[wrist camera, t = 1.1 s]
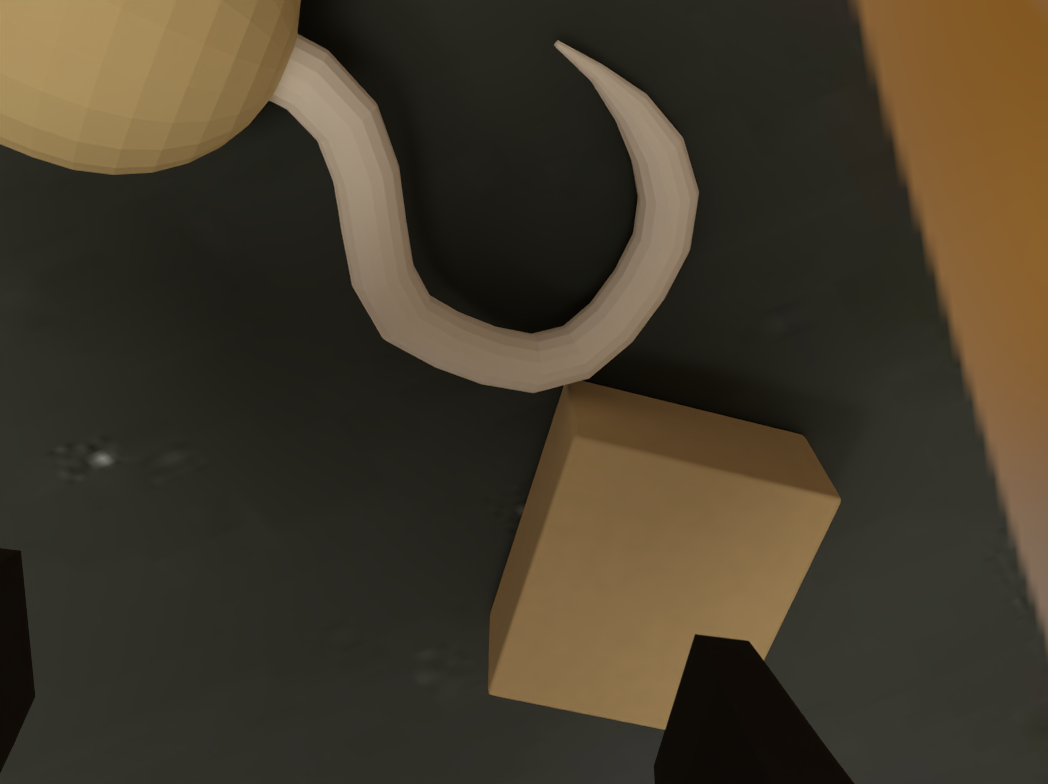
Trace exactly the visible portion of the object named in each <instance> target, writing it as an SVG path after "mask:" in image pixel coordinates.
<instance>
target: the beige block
mask: <svg viewBox="0 0 1048 784" xmlns="http://www.w3.org/2000/svg"><path fill="white" fill-rule="evenodd" d="M840 502H841V498H840V496H839V494H838V493H837V491H836V489H835V488H834V486H833V484H832V482H831V481H830V479H829V477H828V476H827V474H826V472H825V471H824V469H823V467H822V465H821V464H820V462H819V460H818V459H817V457H816V455H815V454H814V452H813V450H812V448H811V447H810V445H809V443H808V442H807V440H806V438H805V437H804V436H803V435H801V434H797V433H793V432H789V431H785V430H781V429H776V428H772V427H768V426H764V425H760V424H756V423H752V422H748V421H744V420H740V419H736V418H732V417H728V416H724V415H719V414H715V413H711V412H707V411H703V410H699V409H695V408H691V407H687V406H683V405H679V404H675V403H671V402H667V401H662V400H658V399H654V398H650V397H646V396H642V395H638V394H634V393H630V392H626V391H622V390H618V389H614V388H610V387H605V386H601V385H597V384H593V383H589V382H585V381H578V382H574V383H570V384H566V385H564V387H563V390H562V393H561V396H560V399H559V402H558V405H557V408H556V411H555V414H554V418H553V421H552V424H551V427H550V430H549V433H548V436H547V439H546V442H545V445H544V449H543V452H542V455H541V458H540V461H539V464H538V467H537V470H536V473H535V476H534V479H533V483H532V486H531V489H530V492H529V495H528V498H527V501H526V504H525V507H524V510H523V514H522V517H521V520H520V523H519V526H518V529H517V532H516V535H515V538H514V541H513V545H512V548H511V551H510V554H509V557H508V560H507V563H506V566H505V569H504V572H503V576H502V579H501V582H500V585H499V588H498V591H497V594H496V597H495V600H494V603H493V607H492V610H491V613H490V633H489V669H488V692H489V694H491V695H493V696H498V697H503V698H508V699H513V700H518V701H523V702H528V703H533V704H538V705H543V706H548V707H553V708H558V709H563V710H568V711H573V712H578V713H583V714H588V715H593V716H598V717H603V718H608V719H613V720H618V721H623V722H628V723H633V724H638V725H643V726H648V727H653V728H658V729H663V730H665V729H666V726H667V722H668V719H669V716H670V713H671V710H672V706H673V703H674V700H675V697H676V693H677V690H678V687H679V684H680V681H681V677H682V674H683V671H684V668H685V665H686V661H687V658H688V655H689V652H690V648H691V645H692V642H693V639H694V636H695V634H698V635H706V636H714V637H722V638H730V639H738V640H746V641H750V643H751V644H752V645H753V647H754V648H755V650H756V651H757V652H758V654H759V655H760V656H761V658H762V659H763V660H764V659H765V657H766V655H767V653H768V651H769V649H770V647H771V645H772V643H773V641H774V638H775V636H776V634H777V632H778V630H779V628H780V626H781V624H782V622H783V620H784V618H785V616H786V614H787V612H788V610H789V608H790V606H791V604H792V601H793V599H794V597H795V595H796V593H797V591H798V589H799V587H800V585H801V583H802V581H803V579H804V577H805V575H806V573H807V571H808V569H809V567H810V564H811V562H812V560H813V558H814V556H815V554H816V552H817V550H818V548H819V546H820V544H821V542H822V540H823V538H824V536H825V534H826V532H827V530H828V528H829V525H830V523H831V521H832V519H833V517H834V515H835V513H836V511H837V509H838V507H839V505H840Z"/></svg>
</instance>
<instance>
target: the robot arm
mask: <svg viewBox="0 0 1048 784" xmlns="http://www.w3.org/2000/svg"><path fill="white" fill-rule="evenodd" d="M34 698H35V690H34V680H33V670H32V660H31V649H30V639H29V629H28V619H27V609H26V599H25V589H24V578H23V568H22V558H21V551H18V550H10V549H2V548H0V772H1V770H2V768H3V766H4V764H5V762H6V760H7V758H8V755H9V753H10V751H11V749H12V747H13V745H14V743H15V740H16V738H17V736H18V734H19V731H20V729H21V727H22V725H23V722H24V720H25V718H26V716H27V713H28V711H29V709H30V707H31V704H32V702H33V700H34ZM654 776H655V784H854V783H853V781H852V780H851V779H850V777H849V776H848V775H847V774H846V772H845V771H844V770H843V768H842V767H841V766H840V764H839V763H838V762H837V760H836V759H835V758H834V756H833V755H832V754H831V752H830V751H829V750H828V748H827V747H826V746H825V744H824V743H823V742H822V740H821V739H820V738H819V736H818V735H817V734H816V732H815V731H814V729H813V728H812V727H811V725H810V724H809V723H808V721H807V720H806V718H805V717H804V716H803V714H802V713H801V712H800V710H799V709H798V708H797V706H796V705H795V703H794V702H793V701H792V699H791V698H790V696H789V695H788V694H787V692H786V691H785V690H784V688H783V687H782V685H781V684H780V683H779V681H778V680H777V678H776V677H775V676H774V674H773V673H772V672H771V670H770V669H769V667H768V666H767V665H766V663H765V662H764V660H763V659H762V658H761V656H760V655H759V654H758V652H757V651H756V650H755V648H754V647H753V645H752V644H751V643H750V641H746V640H738V639H730V638H722V637H714V636H706V635H698V634H695V636H694V639H693V642H692V645H691V648H690V652H689V655H688V658H687V661H686V665H685V668H684V671H683V674H682V677H681V681H680V684H679V687H678V690H677V693H676V697H675V700H674V703H673V706H672V710H671V713H670V716H669V719H668V722H667V726H666V729H665V732H664V735H663V739H662V742H661V745H660V748H659V751H658V755H657V758H656V761H655V764H654Z"/></svg>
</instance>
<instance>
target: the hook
mask: <svg viewBox="0 0 1048 784" xmlns="http://www.w3.org/2000/svg"><path fill="white" fill-rule="evenodd" d="M300 3H301V0H0V144H2V145H4V146H7V147H9V148H11V149H14V150H16V151H19V152H21V153H24V154H26V155H29V156H31V157H34V158H37V159H40V160H43V161H47V162H50V163H53V164H56V165H60V166H63V167H66V168H69V169H72V170H79V171H87V172H95V173H103V174H111V175H120V174H136V173H152V172H156V171H160V170H164V169H168V168H172V167H175V166H179V165H183V164H187V163H190V162H192V161H194V160H196V159H198V158H200V157H202V156H204V155H206V154H208V153H210V152H212V151H214V150H216V149H218V148H220V147H222V146H223V145H224V144H226V143H227V142H228V141H229V140H231V139H232V138H233V137H234V136H236V135H237V134H238V133H239V132H241V131H242V130H243V129H244V128H246V127H247V126H248V125H249V124H250V123H251V122H252V120H253V119H254V118H255V117H256V116H257V114H258V113H259V112H260V111H261V110H262V108H263V107H264V106H265V105H266V103H267V102H268V101H271V102H273V103H275V104H277V105H279V106H281V107H283V108H285V109H287V110H288V111H289V112H290V113H291V114H292V115H293V116H294V117H295V118H296V119H297V120H298V121H299V123H300V124H301V125H302V126H303V127H304V128H305V129H306V130H307V131H308V132H309V133H310V134H311V135H312V136H313V137H314V138H315V139H316V140H317V141H318V144H319V146H320V149H321V152H322V154H323V157H324V159H325V162H326V164H327V167H328V170H329V172H330V175H331V177H332V180H333V183H334V189H335V195H336V201H337V207H338V213H339V219H340V225H341V231H342V236H343V242H344V247H345V252H346V257H347V262H348V267H349V273H350V278H351V283H352V287H353V288H354V290H355V292H356V293H357V295H358V297H359V299H360V300H361V302H362V304H363V305H364V307H365V309H366V311H367V312H368V314H369V316H370V317H371V319H372V321H373V323H374V324H375V326H376V328H377V330H378V331H379V333H380V335H381V336H382V338H383V339H384V340H386V341H388V342H389V343H391V344H393V345H395V346H397V347H399V348H400V349H402V350H404V351H406V352H408V353H410V354H411V355H413V356H415V357H417V358H419V359H421V360H422V361H424V362H426V363H428V364H430V365H432V366H433V367H436V368H438V369H441V370H444V371H447V372H449V373H452V374H455V375H458V376H460V377H463V378H466V379H469V380H471V381H474V382H477V383H480V384H483V385H489V386H495V387H501V388H506V389H512V390H518V391H524V392H530V393H536V392H540V391H543V390H547V389H551V388H555V387H559V386H563V385H566V384H570V383H574V382H578V381H582V380H586V379H589V378H590V377H592V376H593V375H594V374H595V373H596V372H598V371H599V370H600V369H601V368H602V367H603V366H605V365H606V364H607V363H608V362H609V361H611V360H612V359H613V358H614V357H615V356H616V355H618V354H619V353H620V352H621V351H622V350H624V349H625V348H626V347H627V346H628V345H629V344H631V343H632V342H633V341H634V339H635V338H636V337H637V335H638V334H639V333H640V331H641V330H642V329H643V327H644V326H645V325H646V323H647V322H648V321H649V319H650V318H651V317H652V315H653V314H654V312H655V311H656V310H657V308H658V307H659V306H660V304H661V303H662V302H663V300H664V299H665V297H666V295H667V293H668V291H669V289H670V288H671V286H672V284H673V282H674V280H675V278H676V276H677V274H678V272H679V270H680V268H681V267H682V265H683V263H684V261H685V259H686V257H687V255H688V253H689V251H690V248H691V241H692V235H693V229H694V222H695V216H696V209H697V203H698V196H699V190H698V187H697V183H696V180H695V177H694V173H693V170H692V166H691V163H690V160H689V156H688V153H687V149H686V146H685V143H684V139H683V137H682V136H681V135H680V134H679V132H678V131H677V130H676V129H675V128H674V126H673V125H672V124H671V123H670V122H669V120H668V119H667V118H666V117H665V116H664V114H663V113H662V112H661V111H660V110H659V108H658V107H657V106H656V105H655V104H654V102H653V101H652V100H651V99H650V98H649V96H648V95H647V94H646V93H644V92H643V91H641V90H640V89H638V88H637V87H635V86H634V85H632V84H631V83H629V82H628V81H626V80H625V79H624V78H622V77H621V76H619V75H618V74H616V73H615V72H613V71H612V70H610V69H609V68H607V67H606V66H604V65H603V64H601V63H599V62H597V61H595V60H593V59H592V58H590V57H588V56H586V55H584V54H582V53H580V52H579V51H577V50H575V49H573V48H571V47H569V46H568V45H566V44H564V43H562V42H560V41H558V40H557V41H556V42H555V44H554V46H555V47H556V48H557V49H558V50H559V51H560V52H561V53H562V54H563V55H564V56H565V57H566V58H567V59H568V60H569V61H571V62H572V63H573V64H574V65H575V66H576V67H577V68H578V69H579V70H580V71H581V72H582V73H583V74H584V75H585V76H586V77H587V78H588V79H589V80H590V81H591V82H592V84H593V85H594V87H595V89H596V90H597V92H598V93H599V95H600V97H601V98H602V100H603V101H604V103H605V105H606V106H607V108H608V109H609V111H610V113H611V114H612V116H613V117H614V119H615V121H616V123H617V126H618V128H619V131H620V133H621V136H622V138H623V141H624V143H625V146H626V148H627V150H628V153H629V155H630V158H631V161H632V167H633V172H634V178H635V183H636V189H637V195H638V200H637V208H636V215H635V222H634V230H633V234H632V236H631V238H630V240H629V242H628V244H627V246H626V248H625V250H624V252H623V254H622V256H621V258H620V260H619V262H618V264H617V266H616V268H615V270H614V271H613V272H612V274H611V275H610V277H609V278H608V279H607V281H606V282H605V283H604V285H603V286H602V287H601V289H600V290H599V292H598V293H597V294H596V296H595V297H594V298H593V300H592V301H591V303H589V304H588V305H587V306H586V307H585V308H584V309H582V310H581V311H580V312H579V313H578V314H576V315H575V316H574V317H573V318H572V319H571V320H569V321H568V322H567V323H566V324H565V325H563V326H561V327H557V328H553V329H549V330H545V331H541V332H537V333H533V334H530V333H525V332H520V331H515V330H510V329H505V328H500V327H496V326H493V325H490V324H488V323H485V322H483V321H480V320H478V319H475V318H473V317H470V316H468V315H465V314H463V313H460V312H458V311H456V310H454V309H453V308H451V307H449V306H447V305H446V304H444V303H442V302H441V301H439V300H437V299H435V298H434V297H432V296H430V295H429V293H428V291H427V289H426V288H425V286H424V284H423V282H422V280H421V278H420V276H419V274H418V273H417V271H416V269H415V267H414V265H413V260H412V254H411V247H410V241H409V235H408V229H407V223H406V215H405V208H404V200H403V193H402V185H401V178H400V170H399V165H398V162H397V159H396V156H395V153H394V151H393V148H392V145H391V142H390V139H389V136H388V133H387V131H386V128H385V125H384V122H383V119H382V116H381V114H380V111H379V108H378V105H377V103H376V102H375V101H374V100H373V99H372V98H371V97H370V96H369V94H368V93H367V92H366V91H365V90H364V89H363V88H362V87H361V86H360V85H359V84H358V82H357V81H356V80H355V79H354V78H353V77H352V76H351V75H350V74H349V73H348V71H347V70H346V69H345V68H344V67H343V66H342V65H341V64H340V63H339V62H338V60H337V59H336V58H335V57H334V56H333V55H332V54H331V53H330V52H329V51H328V50H327V49H325V48H323V47H321V46H319V45H318V44H316V43H314V42H312V41H310V40H308V39H306V38H305V37H303V36H301V35H299V34H297V32H298V22H299V13H300Z"/></svg>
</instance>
